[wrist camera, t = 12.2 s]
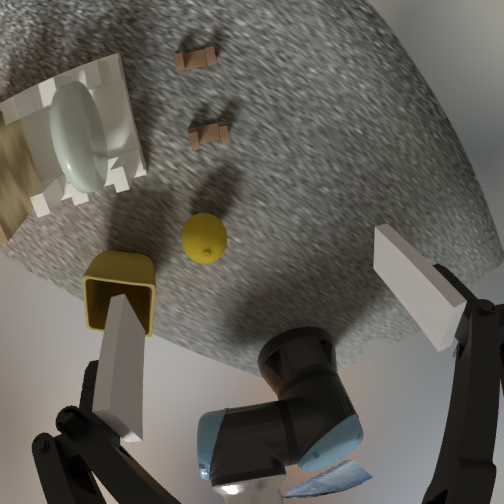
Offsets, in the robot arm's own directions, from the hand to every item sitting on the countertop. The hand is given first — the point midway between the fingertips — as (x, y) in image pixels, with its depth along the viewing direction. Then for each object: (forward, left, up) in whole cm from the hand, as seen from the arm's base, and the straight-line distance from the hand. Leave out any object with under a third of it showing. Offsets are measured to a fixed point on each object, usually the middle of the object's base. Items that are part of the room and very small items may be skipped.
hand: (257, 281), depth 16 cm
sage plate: (+7, +12, -23) cm, 27 cm away
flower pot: (-13, +15, -26) cm, 33 cm away
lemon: (-9, +3, -26) cm, 27 cm away
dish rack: (+7, +17, -26) cm, 31 cm away
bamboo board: (+7, +22, -23) cm, 33 cm away
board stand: (+7, 0, -26) cm, 26 cm away
